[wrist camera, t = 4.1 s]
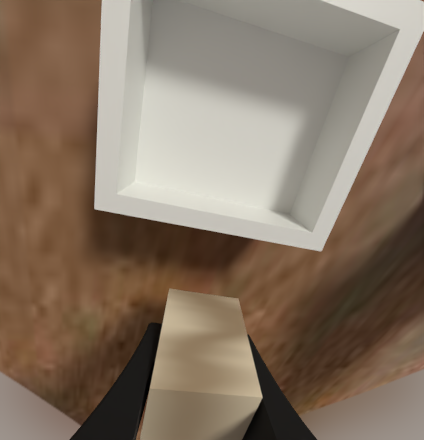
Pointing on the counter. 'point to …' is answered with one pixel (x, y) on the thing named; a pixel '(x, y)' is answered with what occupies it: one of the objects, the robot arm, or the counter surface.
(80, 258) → the counter surface
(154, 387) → the block
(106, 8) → the white open storage bin
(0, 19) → the counter surface
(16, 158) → the counter surface
